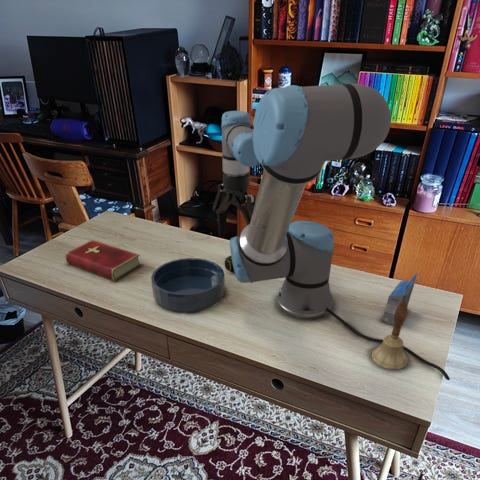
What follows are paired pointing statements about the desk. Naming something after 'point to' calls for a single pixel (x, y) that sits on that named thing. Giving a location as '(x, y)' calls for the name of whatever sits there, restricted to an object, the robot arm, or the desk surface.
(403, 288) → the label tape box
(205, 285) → the bowl
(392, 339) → the hand bell
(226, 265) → the tape measure
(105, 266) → the hardcover book
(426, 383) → the desk surface
